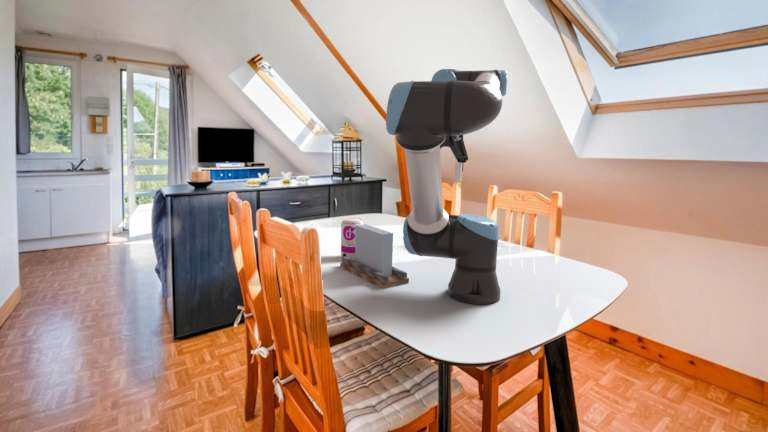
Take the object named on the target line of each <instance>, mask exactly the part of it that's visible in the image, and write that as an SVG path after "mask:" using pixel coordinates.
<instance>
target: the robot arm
mask: <svg viewBox="0 0 768 432" xmlns="http://www.w3.org/2000/svg"><path fill="white" fill-rule="evenodd" d="M507 85H508V71H507V70H505V69H504V70H502V69H500V70H499V69H494V70H493V69H492V70H491V69H490V70H460V69H456V68H441V69H438V70H437V71H436V72H435V73H434V74H433V75H432V77H431V80H429V81H428V80H426V81H425V80H424V81H423V80H422V81H414V80H411V81H401V82H397V83H395V84H394V85H393V86H392V88H391V89H390V93H389V95H388V100H387V106H386V116H385V123H386V124H385V127H386V132H387V133H388V134H389V135H392V136H396V142H397V144H398V146H399V147H400V148H402V149H403V150H404V155H405V156H404V157H405V162H406V163H405V165H406V170H407V171H406V172H407V181H408V187H409V196H410V197H409V198H410V205H411V212H410V213H409V214H408V216H406V217H405V219H404V222H403V226H402V234H403V237H402V239H403V244H404V245H403V246H404V247H405V250H406V251H407V253H409V254H410V255H415V256H416V255H417V256H419V257H430V258H431V257H432V258H444V259H452V260H455V262H454V263H455V264H454V270H453V272H452V275H451V276H450V277H451V278H450V281H449V282H448V283H447V284H448V285H447V295H448V296H449V297H451V298H452V299H454V300H456V301H459V302H462V303H464V304H465V303H466V304H472V305H489V304H494V303H496V302H498V301H499V300H500V299H501V291H502V290H501V287H500V285H499V281H498V276H497V275H498V274H497V258H498V248H499V247H498V246H499V245H498V244H499V243H498V242H499V241H500V237H499V234H500V233H499V231H500V230H499V225H498V222H497V221H495V220H493V219H491V218H489V217H487V216H482V215H477V214H472V213H468V214H467V213H461V214H458V215H457V216H458V217H457V219H450V218H449V216H448V215H449V213H448V211H446V209H445V208H444V206H443V205H444V204H443V185H442V183H443V182H442V180H443V179H442V164H441V163H442V162H441V149H442V148H444V147H448V148H449V149H450V150H451V152H452V154H453V156H454V158H455V160H456V162H455V163H454V164H455V165H454V166H455V167H454V181H455V182H463V180H462V179H463V172H464V163H467V161H469V157H468V152H467V149H466V145H465V141H464V135H469V134H471V133H475V132H477V131H480V130H481V129H483V128H485V127H487V126H488V125H490V124H492V122H493V121H495V120H496V119H497V117H498V116H499V114H500V113H501V110H502V105H503V97H504V96H506V94H507Z"/></svg>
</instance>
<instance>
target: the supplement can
mask: <svg viewBox="0 0 768 432" xmlns="http://www.w3.org/2000/svg"><path fill="white" fill-rule="evenodd" d="M363 224H364V222H363V220H362V218H359V217H345V218H343V219H342V221H341V223H340V228H341V229H340V230H341V231H340V233H341V234H340V257H341V258H342V257H344V256H346V257H348V258H350V259H352V260H355V231H356V225H363Z"/></svg>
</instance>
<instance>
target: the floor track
mask: <svg viewBox="0 0 768 432" xmlns="http://www.w3.org/2000/svg"><path fill="white" fill-rule="evenodd" d="M341 258H342V260H341V261H342V262H340V265H339V267H340V268H342V269H344V270H346V271H348V272H349V273H351V274H354V275H355V276H357V277H360V278H361V279H363V280H365V281H367V282H369V283H371V284H373V285H375V286H377V287H378V288H381V289H382V290H384V289H388V288H393V287H398V286H402V285H407V284H409V282H410V279H409V277H408V273H407V272H406V271H404V270H402V269H399V268H397V267H395V266H392V276H386V275H384V274H382V273H380V272H377V271H375V270H373V269H371V268H369V267H367V266H365V265H363V264H360V263H358V262H356V261H355V260H352V259H350V258H348V257H346V256H344V257H341Z"/></svg>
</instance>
